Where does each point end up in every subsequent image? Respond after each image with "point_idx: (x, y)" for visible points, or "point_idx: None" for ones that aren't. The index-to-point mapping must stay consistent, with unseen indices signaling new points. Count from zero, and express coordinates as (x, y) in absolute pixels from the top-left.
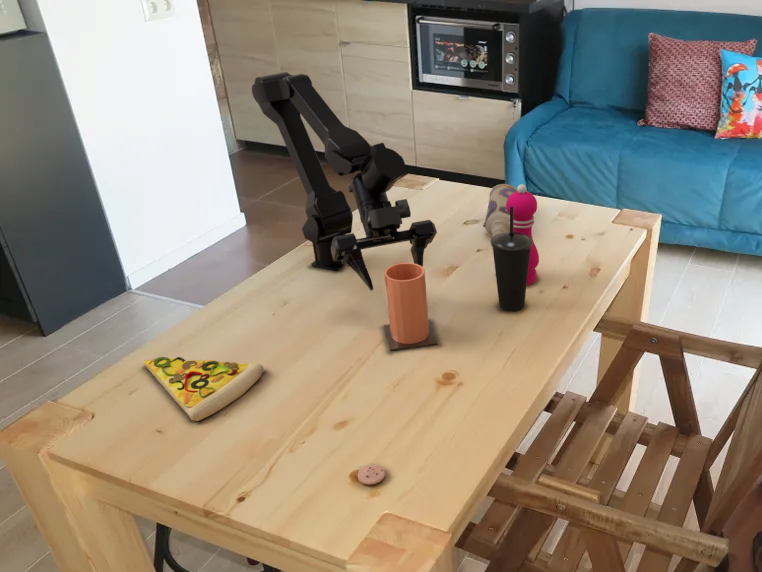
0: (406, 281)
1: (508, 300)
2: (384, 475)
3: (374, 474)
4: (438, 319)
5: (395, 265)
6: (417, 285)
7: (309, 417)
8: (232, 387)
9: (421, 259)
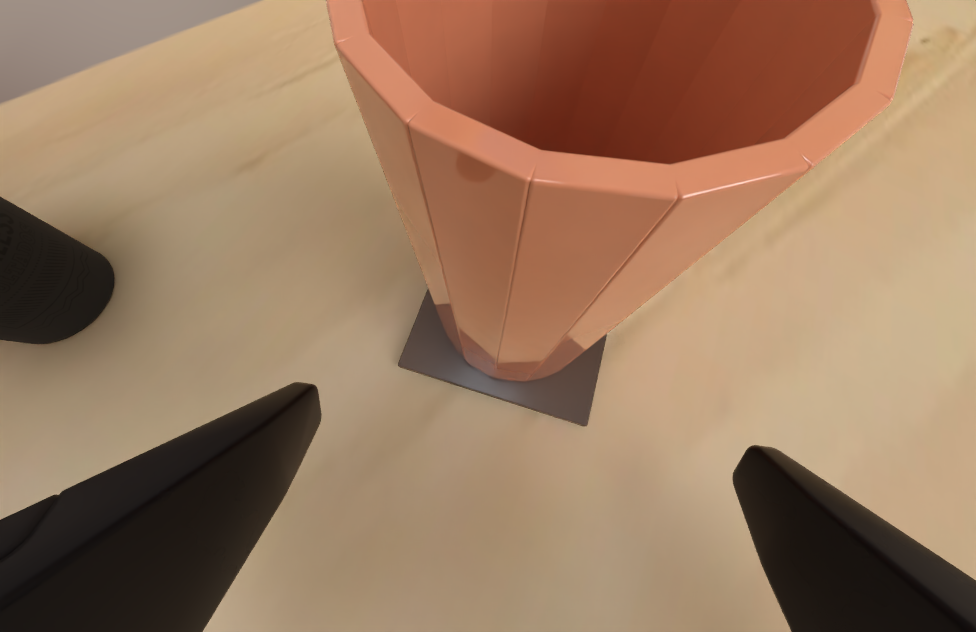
0: None
1: (51, 230)
2: None
3: None
4: (360, 360)
5: (672, 165)
6: None
7: (911, 103)
8: None
9: (73, 502)
